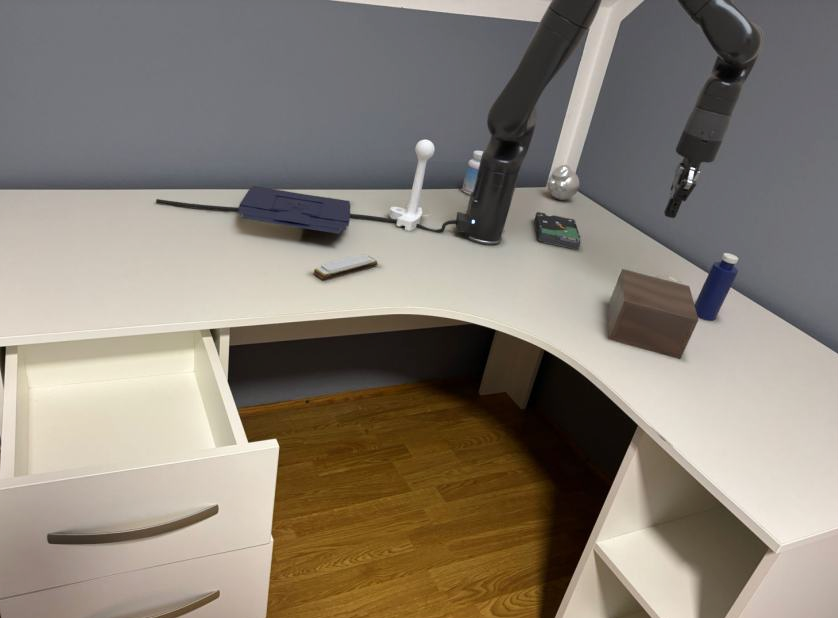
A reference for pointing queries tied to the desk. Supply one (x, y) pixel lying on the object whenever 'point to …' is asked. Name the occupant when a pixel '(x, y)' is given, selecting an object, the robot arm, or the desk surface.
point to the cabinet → (651, 313)
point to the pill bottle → (472, 172)
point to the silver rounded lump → (563, 183)
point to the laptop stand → (295, 209)
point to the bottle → (716, 287)
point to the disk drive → (557, 230)
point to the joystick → (414, 190)
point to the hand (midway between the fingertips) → (669, 216)
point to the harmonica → (345, 266)
